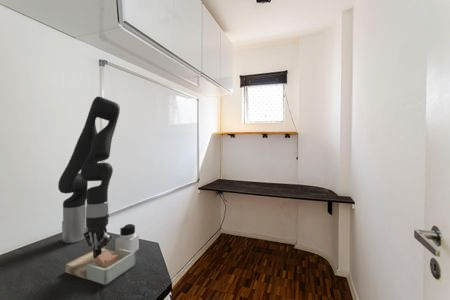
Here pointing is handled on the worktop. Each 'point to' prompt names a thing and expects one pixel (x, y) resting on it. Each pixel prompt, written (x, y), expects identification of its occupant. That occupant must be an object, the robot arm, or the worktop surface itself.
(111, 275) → the box
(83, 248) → the worktop surface
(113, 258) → the tile
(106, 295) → the worktop surface
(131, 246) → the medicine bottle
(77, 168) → the robot arm
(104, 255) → the tile
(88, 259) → the wooden slab
